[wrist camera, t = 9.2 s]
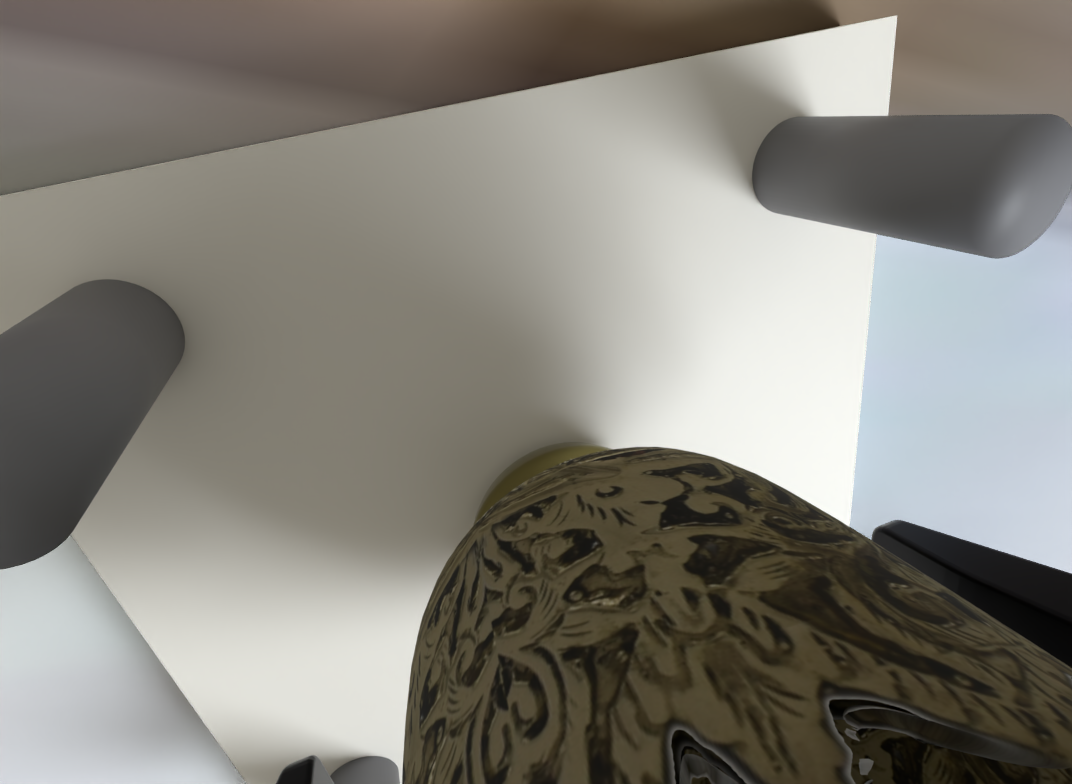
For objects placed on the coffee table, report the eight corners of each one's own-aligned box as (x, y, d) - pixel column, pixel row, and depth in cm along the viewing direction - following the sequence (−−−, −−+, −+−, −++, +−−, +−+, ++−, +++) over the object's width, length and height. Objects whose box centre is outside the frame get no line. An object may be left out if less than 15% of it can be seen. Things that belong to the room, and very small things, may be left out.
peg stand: (843, 25, 11) (1206, -43, 6) (809, 600, 18) (972, 764, 13) (-85, 212, 8) (-627, 330, 3) (306, 812, 15) (294, 1112, 10)
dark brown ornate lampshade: (267, 532, 10) (103, 1429, 3) (587, 241, 10) (1206, 561, 3) (530, 693, 14) (719, 1275, 7) (772, 488, 13) (1238, 892, 6)
